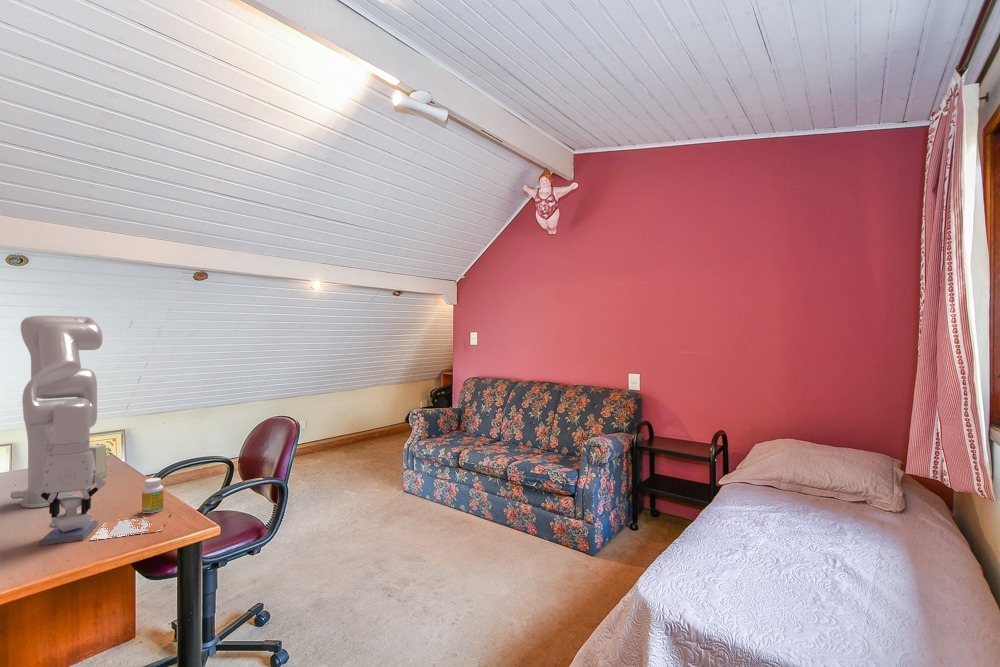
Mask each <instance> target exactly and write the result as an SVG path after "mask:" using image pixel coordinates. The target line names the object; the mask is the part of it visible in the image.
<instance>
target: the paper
mask: <svg viewBox="0 0 1000 667" xmlns="http://www.w3.org/2000/svg"><path fill="white" fill-rule="evenodd" d="M144 519H146V518H144ZM147 519H148V518H147ZM132 520H133V521H136V520H135V519H132ZM132 520H131V521H132ZM128 521H129V520H124V521H119V522H118V524H117V526H115V527H114V529H113V530H112V531H111V532H110V534H109V535H108V533H109V532H108V530H106V528H104V527H103V526H105V525H104V524H106V523H105V522H104V523H103V524H102V525H101V527H103V528H101V527H100V528H101V529H100V528H99V529H98V530H97V531H96V532H95V534H96V535H95V534H94V535H93V536H92V537H91V538H90V539H89V540H94V539H95V538H97V541H99V540H98V539H104V540H108V539H107V538H111V539H115V538H114V537H113V538H112V537H111V536H113V535H114V536H116V535H117V537H119V538H123V537H122V536H125V534H126V537H130V536H129V535H128V536H127V534H129V533H130V534H131V533H136V532H137V533H138V532H143V531H146V530H147V531H148V529H145V528H146V527H148V523H147V521H146V520H145V521H146V523H145V521H144V520H143V519H142V522H143V523H142V522H141V521H140V522H141V525H143V526H142V527H141V529H140V530H139V529H138V526H137V529H136V527H133V525H132V523H131V521H129V522H128ZM133 521H132V522H133ZM137 521H138V520H137ZM123 522H124V523H123ZM148 522H149V521H148ZM130 524H131V525H130ZM133 524H134V523H133ZM138 524H139V525H140V523H138ZM106 525H107V524H106ZM151 525H152V524H151ZM131 526H132V528H131ZM134 526H135V525H134ZM105 527H106V526H105ZM129 527H130V528H129ZM139 527H140V526H139ZM149 527H150V523H149ZM134 528H135V529H134ZM143 528H144V529H143ZM161 528H162V527H161ZM104 529H105V530H104ZM107 529H108V528H107ZM99 530H100V531H99ZM161 530H162V529H161ZM161 530H158V531H161ZM109 531H110V530H109ZM115 531H116V532H115ZM107 532H108V533H107ZM143 533H144V532H143ZM156 533H158V532H157V531H156ZM97 534H99V535H97ZM120 534H121V535H120ZM118 535H119V536H118ZM131 535H132V534H131ZM133 535H134V534H133ZM141 535H143V534H142V533H141ZM109 536H110V537H109ZM134 536H135V535H134ZM93 538H94V539H93ZM95 540H96V539H95Z"/></svg>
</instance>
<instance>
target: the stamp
mask: <svg viewBox="0 0 1000 667" xmlns="http://www.w3.org/2000/svg"><path fill="white" fill-rule="evenodd" d="M82 500H83V497H82V496H81V495H77V494H74V496H69V497H65V498H60V499H59V504H60V507H61V508H63V509H64V510H65V512H63V513H59V514H58V515H57V516H56V517H54V518H52V517H51V522H50V523H49V524H48V527H49V528H50V529H54V528H57V527H58V528H59V529H60V530H61V531H62V532H66V531H70V530H74V529H78V528H81V527H84V525H85V524H86V523H87V522H88V521H91V519H92V516H93V514H92V513H90V512H86V513H85V514H81V508H80V509H78V508H79V507H81V501H82Z"/></svg>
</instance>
